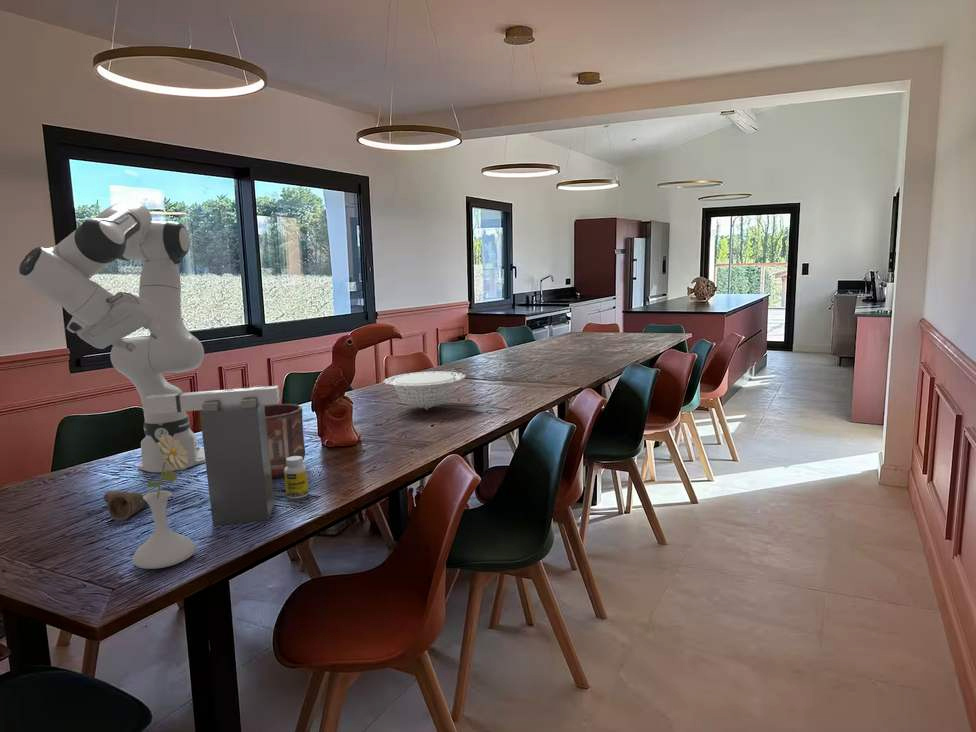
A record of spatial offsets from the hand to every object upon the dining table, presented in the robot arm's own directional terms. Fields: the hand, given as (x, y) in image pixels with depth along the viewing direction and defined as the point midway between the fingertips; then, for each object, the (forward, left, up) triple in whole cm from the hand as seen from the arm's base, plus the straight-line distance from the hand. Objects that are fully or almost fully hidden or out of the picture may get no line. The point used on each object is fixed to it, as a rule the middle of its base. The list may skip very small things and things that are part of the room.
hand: (146, 342), depth 159 cm
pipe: (+3, -10, -41) cm, 42 cm away
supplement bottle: (+6, +32, -40) cm, 52 cm away
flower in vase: (+37, +10, -40) cm, 55 cm away
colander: (-81, +73, -40) cm, 117 cm away
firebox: (+16, +21, -40) cm, 48 cm away
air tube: (+16, +17, -14) cm, 27 cm away
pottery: (-16, +24, -40) cm, 50 cm away
